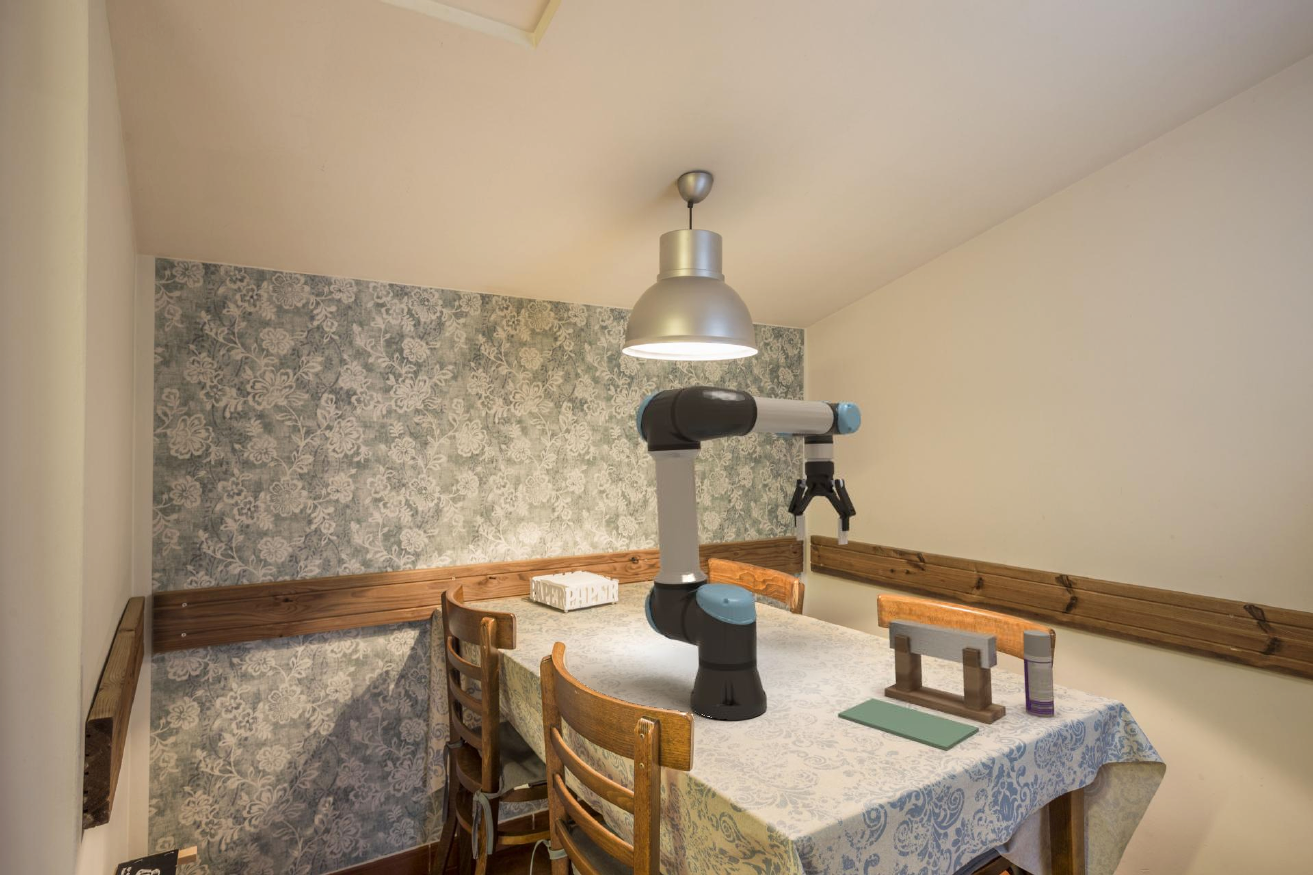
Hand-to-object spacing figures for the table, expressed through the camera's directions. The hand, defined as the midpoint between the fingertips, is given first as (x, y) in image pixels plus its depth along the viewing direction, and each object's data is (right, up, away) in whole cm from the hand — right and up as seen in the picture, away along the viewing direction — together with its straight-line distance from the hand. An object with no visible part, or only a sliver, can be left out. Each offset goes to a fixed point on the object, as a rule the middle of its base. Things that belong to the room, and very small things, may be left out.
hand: (821, 542), depth 175 cm
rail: (+13, -16, -42) cm, 47 cm away
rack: (+13, -25, -42) cm, 51 cm away
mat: (+3, -25, -52) cm, 57 cm away
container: (+30, -25, -48) cm, 61 cm away
